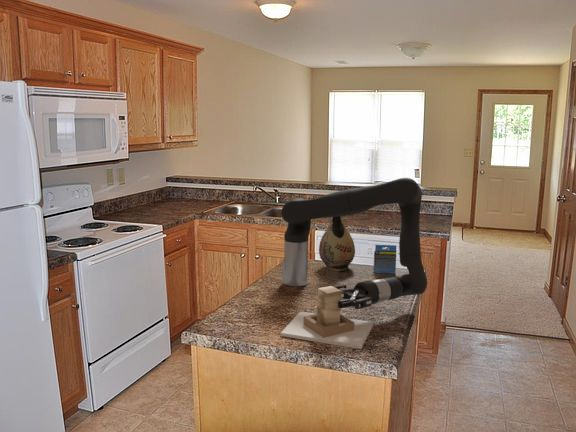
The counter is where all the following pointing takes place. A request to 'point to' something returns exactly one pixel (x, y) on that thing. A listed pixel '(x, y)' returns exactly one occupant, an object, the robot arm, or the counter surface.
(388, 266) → the label tape cartridge
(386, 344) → the counter surface
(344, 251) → the ceramic jug
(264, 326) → the counter surface
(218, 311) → the counter surface
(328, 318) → the maple peg
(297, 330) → the socket board
